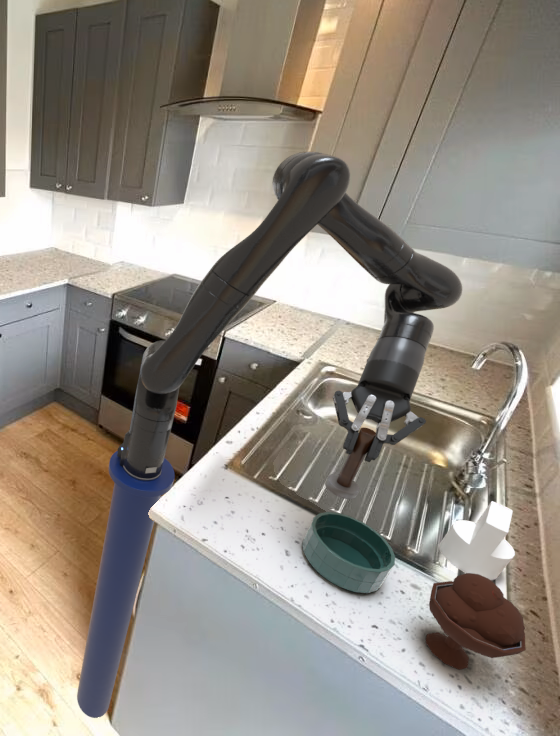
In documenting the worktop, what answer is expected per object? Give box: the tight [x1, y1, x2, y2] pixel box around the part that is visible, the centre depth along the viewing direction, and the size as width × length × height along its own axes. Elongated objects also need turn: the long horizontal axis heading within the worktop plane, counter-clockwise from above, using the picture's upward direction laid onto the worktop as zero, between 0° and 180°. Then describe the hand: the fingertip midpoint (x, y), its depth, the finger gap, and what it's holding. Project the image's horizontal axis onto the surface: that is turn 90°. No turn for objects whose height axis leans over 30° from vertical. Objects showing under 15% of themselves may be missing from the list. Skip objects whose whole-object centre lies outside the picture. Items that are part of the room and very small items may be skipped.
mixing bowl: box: [301, 511, 396, 594], centre depth 81 cm, size 13×13×6 cm
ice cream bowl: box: [425, 573, 527, 670], centre depth 65 cm, size 11×11×15 cm
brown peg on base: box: [324, 427, 376, 500], centre depth 75 cm, size 5×5×13 cm
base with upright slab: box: [438, 500, 516, 581], centre depth 82 cm, size 9×9×12 cm
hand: (358, 456), depth 72 cm, fingers closed on brown peg on base
